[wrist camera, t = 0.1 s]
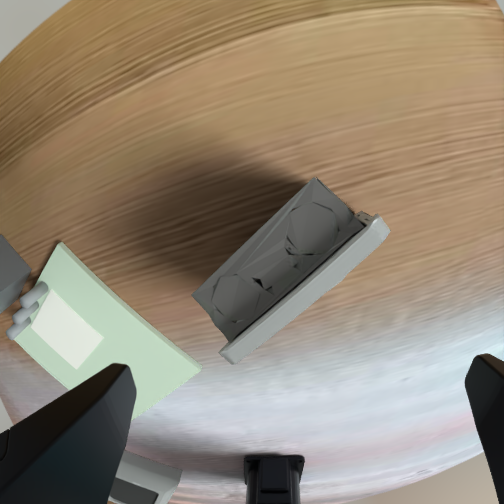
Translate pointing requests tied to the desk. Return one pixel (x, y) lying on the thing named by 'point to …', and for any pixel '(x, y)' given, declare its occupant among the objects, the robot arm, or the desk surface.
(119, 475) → the grey beveled box
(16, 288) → the plug block
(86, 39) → the desk surface
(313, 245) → the electrical switch
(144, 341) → the board
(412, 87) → the desk surface
